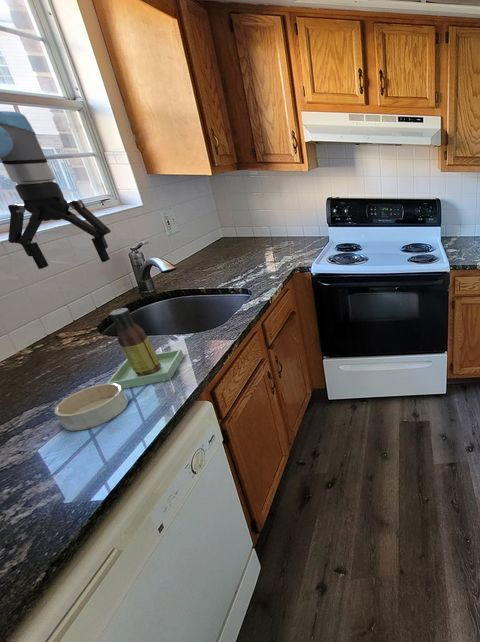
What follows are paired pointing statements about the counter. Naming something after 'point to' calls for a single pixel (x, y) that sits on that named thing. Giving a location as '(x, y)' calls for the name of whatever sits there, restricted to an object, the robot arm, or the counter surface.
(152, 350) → the sauce bottle
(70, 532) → the counter surface
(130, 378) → the tray
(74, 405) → the bowl
